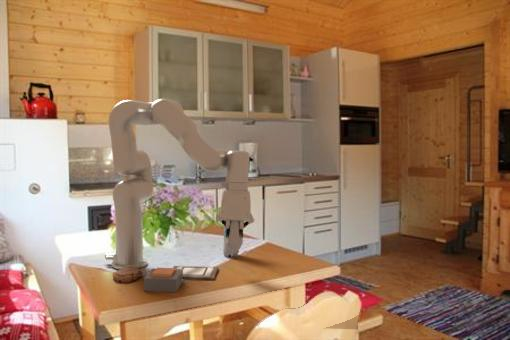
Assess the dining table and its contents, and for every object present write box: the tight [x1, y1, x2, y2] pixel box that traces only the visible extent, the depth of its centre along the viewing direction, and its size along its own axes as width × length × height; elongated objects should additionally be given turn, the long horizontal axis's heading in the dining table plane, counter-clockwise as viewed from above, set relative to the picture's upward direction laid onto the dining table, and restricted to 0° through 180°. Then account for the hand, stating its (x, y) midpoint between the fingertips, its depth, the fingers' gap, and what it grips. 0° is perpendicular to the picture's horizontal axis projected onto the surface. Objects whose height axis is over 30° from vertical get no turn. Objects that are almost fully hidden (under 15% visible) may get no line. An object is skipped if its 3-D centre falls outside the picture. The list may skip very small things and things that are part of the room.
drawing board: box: [172, 265, 219, 281], centre depth 151 cm, size 16×12×1 cm
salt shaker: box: [226, 220, 244, 251], centre depth 149 cm, size 6×6×13 cm
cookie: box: [112, 267, 144, 284], centre depth 146 cm, size 10×11×3 cm
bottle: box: [222, 220, 240, 258], centre depth 174 cm, size 7×7×20 cm
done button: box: [152, 267, 176, 277], centre depth 138 cm, size 6×6×3 cm
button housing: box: [143, 268, 184, 293], centre depth 138 cm, size 10×10×4 cm
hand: (234, 239), depth 150 cm, fingers closed on salt shaker, 3 cm apart
